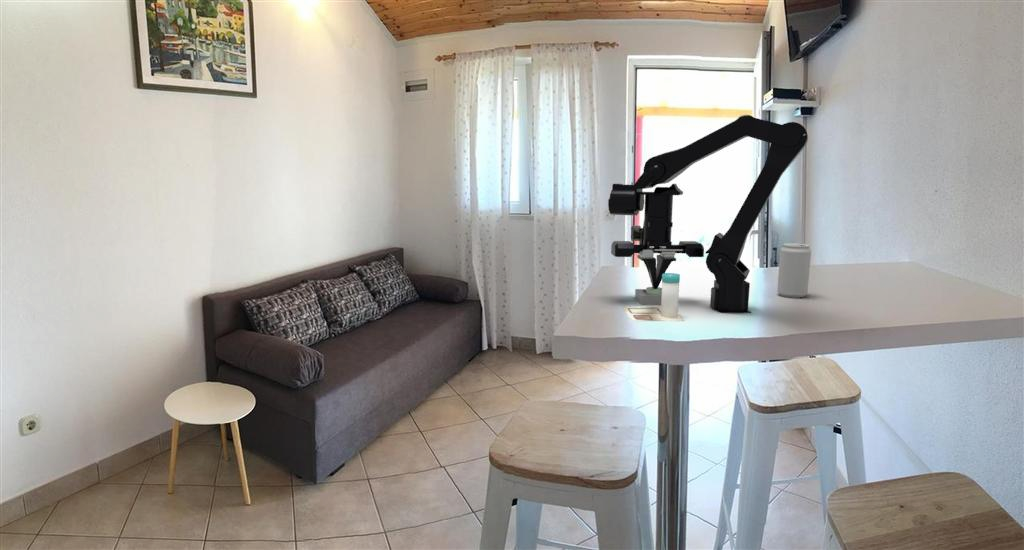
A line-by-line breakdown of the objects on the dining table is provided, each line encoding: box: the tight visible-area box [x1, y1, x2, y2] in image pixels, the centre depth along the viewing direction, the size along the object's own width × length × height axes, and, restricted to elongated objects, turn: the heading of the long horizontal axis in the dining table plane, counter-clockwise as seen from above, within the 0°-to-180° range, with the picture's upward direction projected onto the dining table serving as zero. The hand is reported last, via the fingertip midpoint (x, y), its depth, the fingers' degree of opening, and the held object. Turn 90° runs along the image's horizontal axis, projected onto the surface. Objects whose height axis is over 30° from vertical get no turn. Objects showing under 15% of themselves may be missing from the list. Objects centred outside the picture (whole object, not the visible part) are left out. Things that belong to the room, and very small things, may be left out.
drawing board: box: [621, 305, 686, 322], centre depth 120 cm, size 12×14×1 cm
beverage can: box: [776, 242, 812, 299], centre depth 138 cm, size 6×6×12 cm
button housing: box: [634, 288, 662, 306], centre depth 130 cm, size 7×7×2 cm
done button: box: [645, 286, 662, 294], centre depth 130 cm, size 4×4×2 cm
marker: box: [660, 272, 681, 318], centre depth 117 cm, size 3×3×8 cm
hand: (655, 288), depth 130 cm, fingers closed, pressing on done button
